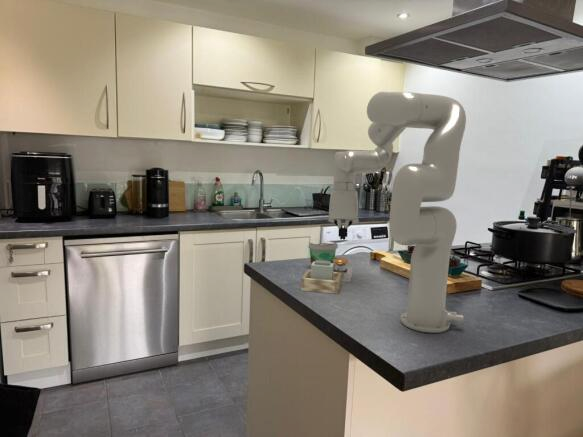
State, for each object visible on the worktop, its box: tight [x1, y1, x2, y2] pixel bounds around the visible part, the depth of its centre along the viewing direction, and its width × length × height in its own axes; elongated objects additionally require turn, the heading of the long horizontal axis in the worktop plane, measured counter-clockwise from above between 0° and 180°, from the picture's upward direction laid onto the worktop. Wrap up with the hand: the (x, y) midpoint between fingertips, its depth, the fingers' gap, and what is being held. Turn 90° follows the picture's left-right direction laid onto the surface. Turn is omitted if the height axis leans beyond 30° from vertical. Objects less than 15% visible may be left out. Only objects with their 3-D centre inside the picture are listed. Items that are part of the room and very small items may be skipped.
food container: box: [307, 241, 339, 266], centre depth 163 cm, size 12×6×10 cm, turn 111°
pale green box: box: [310, 260, 335, 280], centre depth 139 cm, size 5×7×8 cm
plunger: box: [333, 257, 349, 273], centre depth 150 cm, size 6×6×6 cm
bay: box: [300, 269, 342, 295], centre depth 139 cm, size 12×11×4 cm
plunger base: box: [334, 266, 353, 283], centre depth 150 cm, size 8×8×3 cm
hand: (342, 238), depth 147 cm, fingers closed
